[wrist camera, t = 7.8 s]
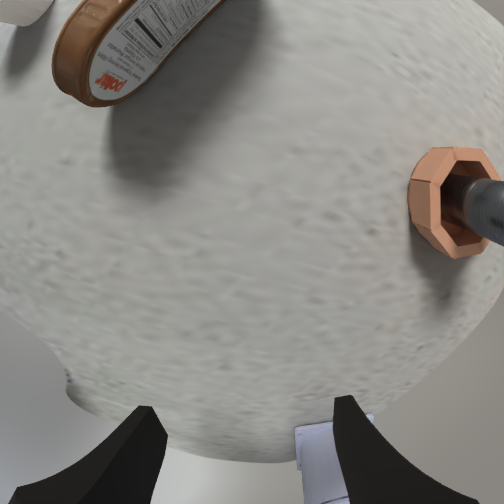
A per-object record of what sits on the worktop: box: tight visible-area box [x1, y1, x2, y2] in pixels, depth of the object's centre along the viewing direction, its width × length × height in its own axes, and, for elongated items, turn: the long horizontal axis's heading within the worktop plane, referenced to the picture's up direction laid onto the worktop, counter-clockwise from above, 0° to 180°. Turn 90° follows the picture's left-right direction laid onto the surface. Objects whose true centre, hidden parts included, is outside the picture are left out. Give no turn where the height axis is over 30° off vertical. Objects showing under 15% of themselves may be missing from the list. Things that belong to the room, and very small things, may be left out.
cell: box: [440, 174, 504, 246], centre depth 12 cm, size 4×4×8 cm
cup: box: [408, 147, 501, 259], centre depth 15 cm, size 7×7×3 cm
